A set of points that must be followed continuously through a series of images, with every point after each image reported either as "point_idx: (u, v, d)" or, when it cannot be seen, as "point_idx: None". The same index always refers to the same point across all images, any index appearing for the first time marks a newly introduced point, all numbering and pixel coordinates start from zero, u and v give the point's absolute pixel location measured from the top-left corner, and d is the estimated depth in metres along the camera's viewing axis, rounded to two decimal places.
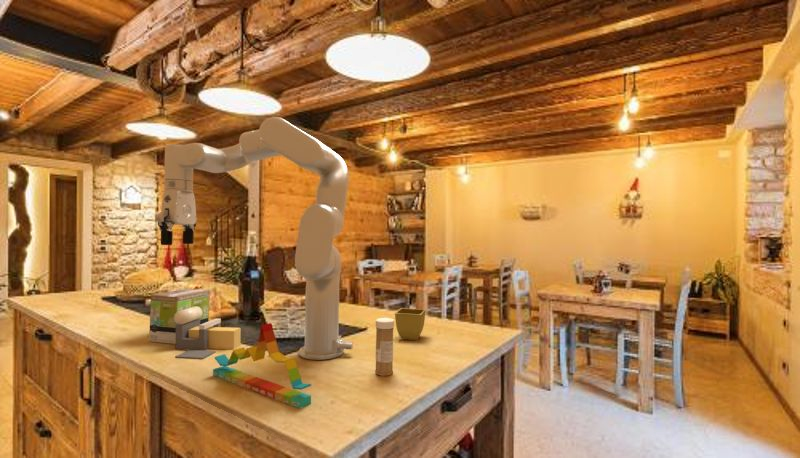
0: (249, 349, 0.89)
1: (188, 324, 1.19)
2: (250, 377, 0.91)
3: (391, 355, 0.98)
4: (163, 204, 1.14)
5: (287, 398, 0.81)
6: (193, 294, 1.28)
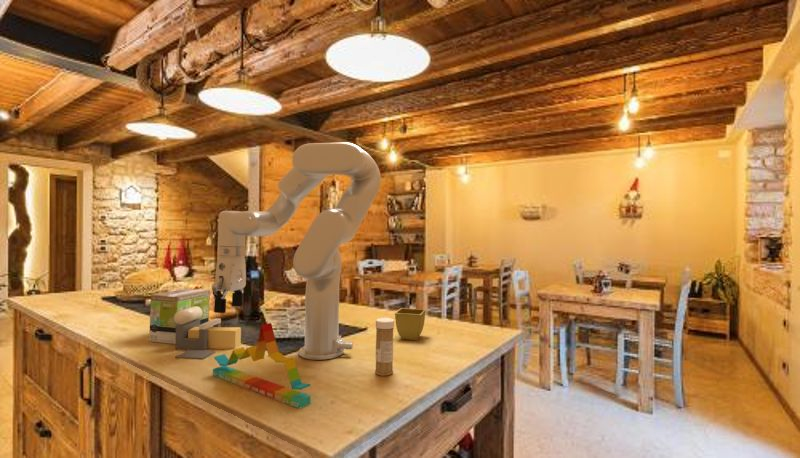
0: (249, 349, 0.89)
1: (188, 324, 1.19)
2: (250, 377, 0.91)
3: (391, 355, 0.98)
4: (217, 272, 1.14)
5: (286, 398, 0.81)
6: (193, 294, 1.28)
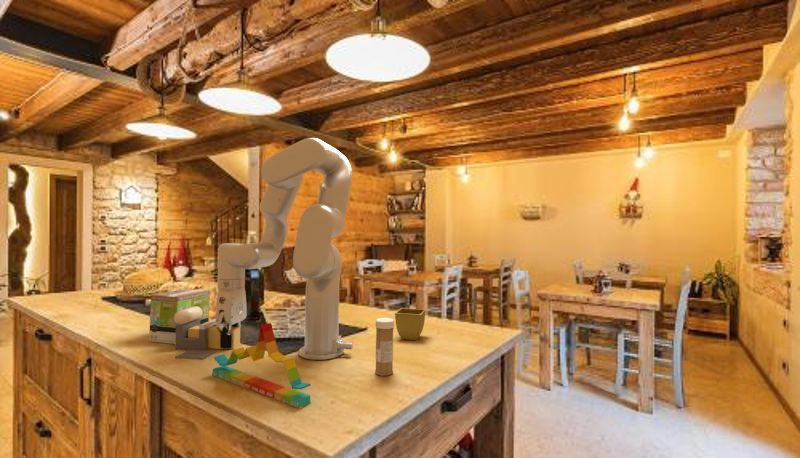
0: (248, 349, 0.89)
1: (188, 324, 1.19)
2: (249, 377, 0.91)
3: (391, 355, 0.98)
4: (218, 305, 1.14)
5: (286, 398, 0.81)
6: (193, 294, 1.28)
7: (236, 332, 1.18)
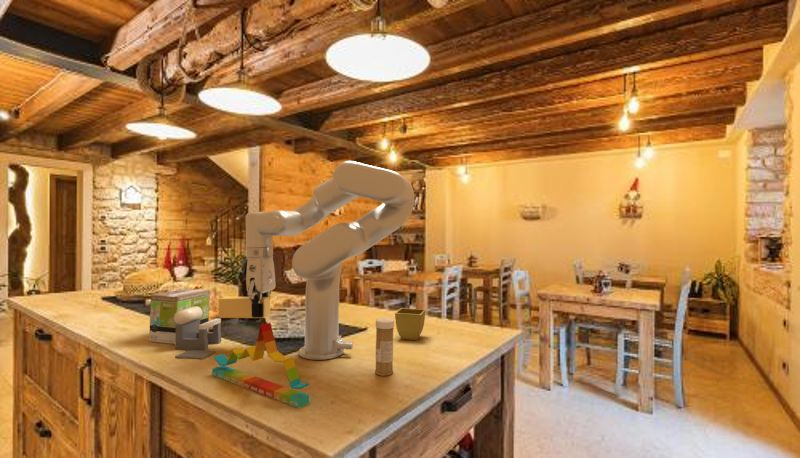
0: (248, 349, 0.90)
1: (188, 324, 1.19)
2: (249, 377, 0.91)
3: (391, 355, 0.98)
4: (248, 274, 1.13)
5: (286, 397, 0.81)
6: (193, 294, 1.28)
7: (266, 301, 1.17)
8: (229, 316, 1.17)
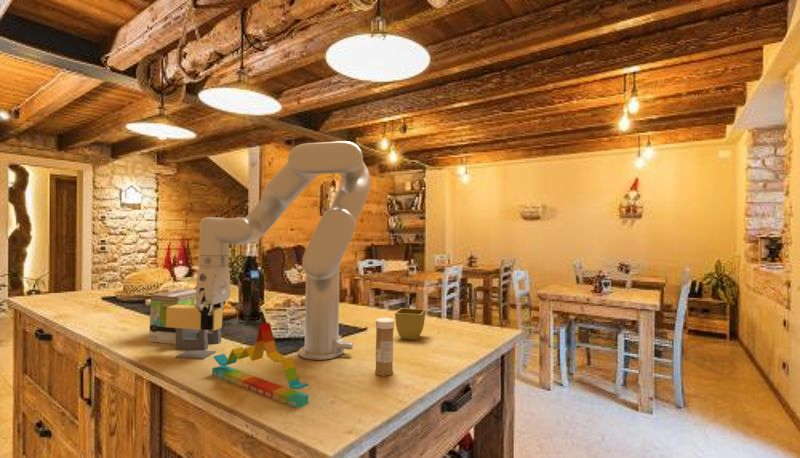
0: (247, 349, 0.90)
1: None
2: (248, 376, 0.91)
3: (391, 355, 0.98)
4: (198, 283, 1.06)
5: (284, 398, 0.81)
6: (193, 294, 1.28)
7: (217, 312, 1.10)
8: (177, 326, 1.09)
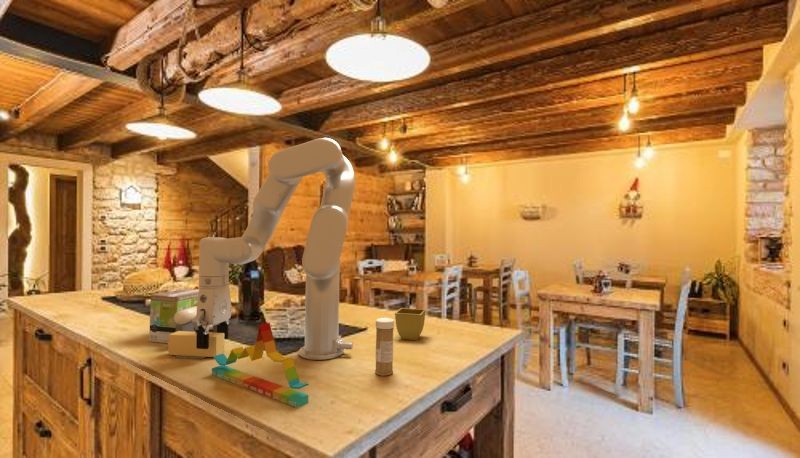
0: (247, 348, 0.90)
1: (188, 324, 1.19)
2: (248, 376, 0.91)
3: (391, 355, 0.98)
4: (199, 304, 1.06)
5: (284, 397, 0.82)
6: (193, 294, 1.28)
7: (219, 338, 1.10)
8: (179, 353, 1.09)
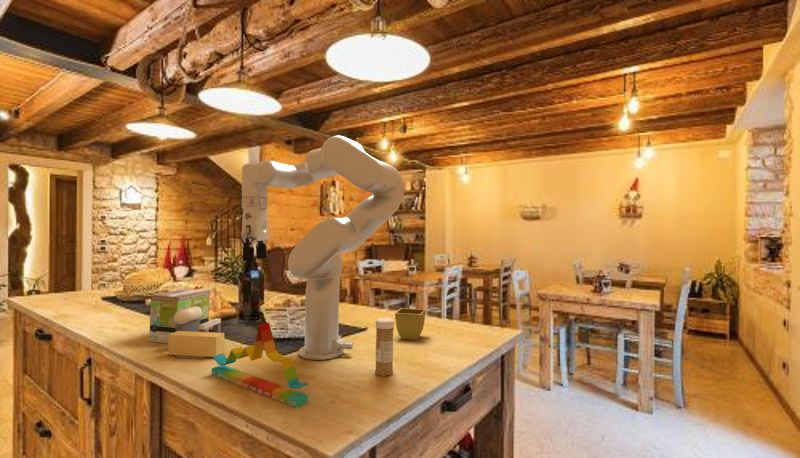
0: (247, 348, 0.90)
1: (188, 324, 1.19)
2: (248, 376, 0.91)
3: (391, 355, 0.98)
4: (244, 221, 1.18)
5: (284, 397, 0.82)
6: (193, 294, 1.28)
7: (219, 338, 1.10)
8: (179, 353, 1.09)
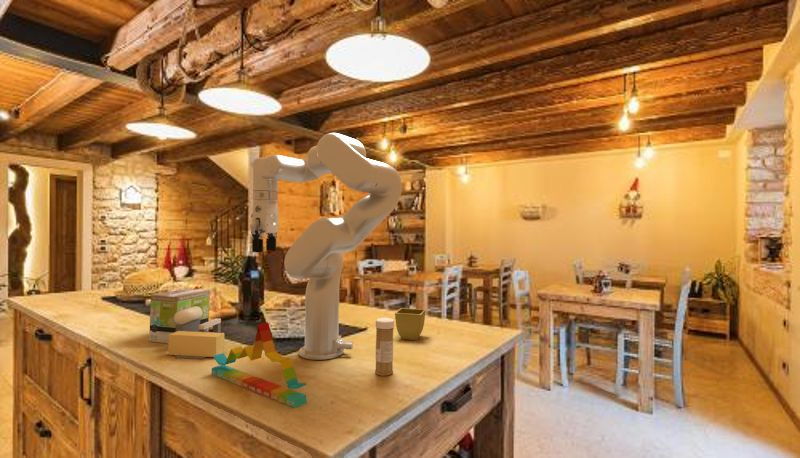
0: (246, 348, 0.90)
1: (188, 324, 1.19)
2: (247, 376, 0.91)
3: (391, 355, 0.98)
4: (254, 214, 1.22)
5: (282, 397, 0.81)
6: (193, 294, 1.28)
7: (219, 338, 1.10)
8: (179, 353, 1.09)
